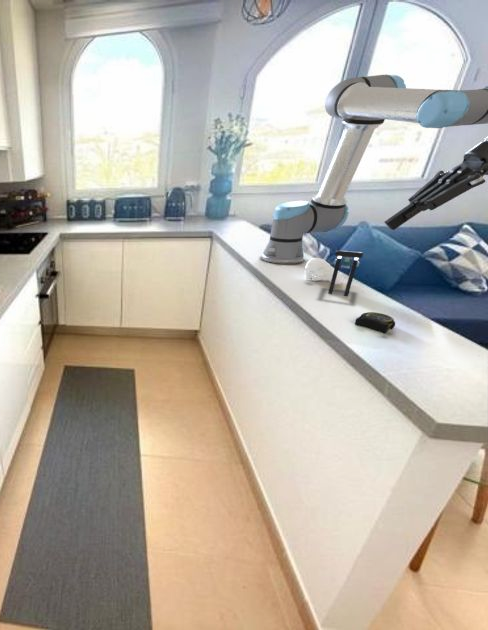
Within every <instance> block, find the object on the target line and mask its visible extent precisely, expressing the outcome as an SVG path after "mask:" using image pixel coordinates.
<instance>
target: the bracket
mask: <svg viewBox="0 0 488 630" xmlns="http://www.w3.org/2000/svg"><path fill="white" fill-rule="evenodd" d="M336 257H337V258H336V259H334V262H333V265H334V267H333V268H334V272H333V276H332V280H331V281H330V284H329V288H328V292H327V294H329V295H333V293H334V288H335V285H336V284H335V281H336V277H337V273H338V272H339V269H340V267H341V263H342V259H343V257H341V256H336ZM360 263H361V262H360V261H359V258H353V259H352V263H351V266H350V272H349V275H348V278H347V282H346V285H345V289H344V293H343V297H349V295H350V290H351V287H352V283H353V281H354V280H353V279H354V276H355V273H356V271H357V270H356V269H357V267H358V268H359V266H360Z"/></svg>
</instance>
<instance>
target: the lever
mask: <svg viewBox="0 0 488 630" xmlns="http://www.w3.org/2000/svg"><path fill="white" fill-rule="evenodd" d="M338 256H341V257H342V259H341V263H340V268H342V269H343V268H344V269H351V266H352V263H353V259H354V258H358V259H363V256H364V252H362V251H348V250H338V249H337V250H336V251H335V253H334V257H338Z"/></svg>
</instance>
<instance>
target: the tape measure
mask: <svg viewBox="0 0 488 630" xmlns="http://www.w3.org/2000/svg"><path fill="white" fill-rule="evenodd" d="M354 325H355V326H358V327H362V328H365V329H369V330H371V331H375V332H379V333H382V334H387V333H388V331H390V330H392V329H394V328H395V326H396V322H395V319H394V317H392V316H390V315H388V314H386V313H382V312H374V311H367V312H363V313H361V315H360V316H358V317H357V318H356V319H355V320H354Z"/></svg>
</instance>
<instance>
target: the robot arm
mask: <svg viewBox="0 0 488 630" xmlns="http://www.w3.org/2000/svg"><path fill="white" fill-rule="evenodd" d="M324 108H325V112H326V114H327V115H329V116H330V117H332V118H334V119H342V123H343V125H344V129H343V132H342V135H341V137H340V139H339V142H338V144H337V146H336V149H335V152H334V154H333V156H332V159H331V162H330V164H329V167H328V169H327V172H326V174H325V176H324V180H323V182H322V183H321V187H320V189H319V191H318V193H316V194H314V195H313V196H312V197H311V200H310V202H309V201H306V200H296V201H287V202H283V203H280V204H278V205H277V206H276V207H275V209H274V212H273V215H272V223H271V229H270V235H269V240H268V242H267V244H266V247H265V249H264V250H263V251H262V253H261V260H262V261H265V262H267V263H271V264H278V265H295V264H300V263H302V262H303V261H304V257H305V256H304V248H303V237H304V234H305V235H306V234H316V233H328V232H332V231H335V230H338V229H339V228H341V227H342V226H343V225H344V224H345V223H346V221H347V219H348V217H349V206H348V204H347V202H348V201H347V198H346V197H345V196H346V194H347V192H348V189H349V187H350V186H351V183H352V180H353V178H354V176H355V174H356V172H357V170H358V168H359V165H360V163H361V161H362V158H363V156H364V154H365V152H366V150H367V148H368V145H369V144H370V141H371V139H372V137H373V134H374V133H375V130H376V129H377V128H378V127H380V126H382V125H383V124H384V123H385V120H387V121H388V120H389V121H396V122H397V121H398V122H405V123H413V124H418V125H420V127H422V128H425V129H444V128H449V127H458V126H475V125H485V124H486V125H487V124H488V85H486V86H485V87H483V88H478V89H433V88H432V89H431V88H407V84H406V83H405V80H404V79H403V78H402V77H401V76H400V75H397V74H387V73H386V74H378V75H377V74H376V75H368V76H367V75H365V76H353V77H350V78H346V79H344V80H342V81H340V82H338V83H337V84H335V86H334V87H332V89H331V90H330V91H329V92H328V94H327V95H326V98H325V101H324ZM484 176H488V136H487V137H486V138H484V139H483V141H481V142H479V143H478V144H476V145H475V146H473V147H472V148H471V149H469V150H468V151H466V152H465V153H464V155H463V161H462V162H461V163H459V164H457V165H455V166H453V167H452V168H451V169H450V170H448V171H444V170H439V171H437V172H436V173H435V175H434V176H433V177H432V178H431V179H430V180H429V181H428V182H427V183H425V184H424V185H423V186H422V187H420V189H419V190H417V191H416V192H414V193H413V195H411V196H410V197H409V198H408V199H407V200H408V202H409V204H408V205H406V206H405V207H403V208H402V209H400V210H399V211H398V212H396V213H395V214H393V215H391V216H390V217H389V218H388V219H386V220H385V221H384V223H385V225H386V226H387V227H388V229H389V230H391V231H395V230H396V229H398V228H399V227H400V226H402V225H404V224H405V223H407V222H409V220H411V219H413V218H414V217H415V216H417V215H418V214H420V213H421V212H425V211H427V210H429V211H434V210H435V209H437V208H439V207H441V206H443V205H445V204H447V203H448V202H450V201H452V200H453V199H455V198H457V197H459V196H460V195H462V194H464V193H466V192H468V191H470V190H472V189H473V188H476V187H479V186H480V185H481V186H482V185H483V184H485V183H486V180H485V178H484Z"/></svg>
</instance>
